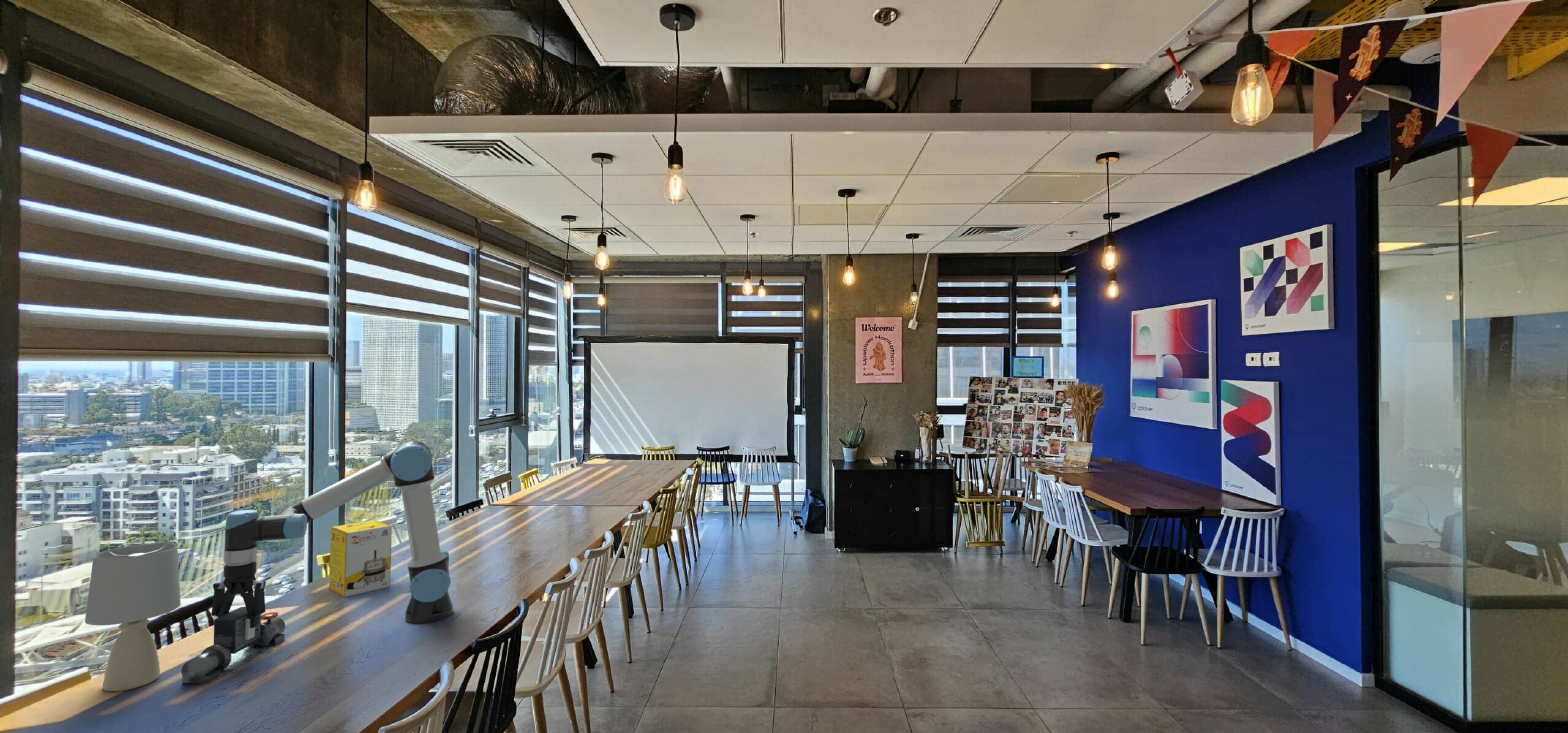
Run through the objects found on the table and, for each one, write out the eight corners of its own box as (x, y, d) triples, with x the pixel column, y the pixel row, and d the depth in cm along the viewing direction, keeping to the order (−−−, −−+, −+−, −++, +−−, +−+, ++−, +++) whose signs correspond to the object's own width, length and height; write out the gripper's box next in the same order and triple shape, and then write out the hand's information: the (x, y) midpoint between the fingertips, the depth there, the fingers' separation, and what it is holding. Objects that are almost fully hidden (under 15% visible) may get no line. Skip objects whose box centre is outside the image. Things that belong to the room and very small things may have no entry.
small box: (239, 639, 193) (240, 605, 193) (261, 639, 194) (263, 605, 194) (211, 654, 183) (212, 618, 183) (234, 654, 183) (236, 618, 183)
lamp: (135, 666, 184) (140, 541, 184) (196, 668, 183) (200, 542, 184) (60, 698, 165) (65, 559, 166) (127, 700, 164) (132, 560, 165)
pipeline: (257, 639, 203) (258, 611, 203) (292, 638, 204) (293, 611, 204) (171, 685, 172) (172, 653, 173) (213, 685, 173) (214, 652, 173)
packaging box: (373, 578, 265) (375, 520, 266) (390, 586, 256) (391, 525, 256) (328, 588, 252) (330, 527, 253) (344, 597, 242) (346, 533, 243)
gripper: (282, 558, 193) (280, 633, 193) (217, 558, 192) (214, 633, 191) (264, 565, 186) (261, 643, 185) (196, 566, 184) (192, 644, 184)
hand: (237, 638), depth 188 cm, fingers closed on small box, 6 cm apart
